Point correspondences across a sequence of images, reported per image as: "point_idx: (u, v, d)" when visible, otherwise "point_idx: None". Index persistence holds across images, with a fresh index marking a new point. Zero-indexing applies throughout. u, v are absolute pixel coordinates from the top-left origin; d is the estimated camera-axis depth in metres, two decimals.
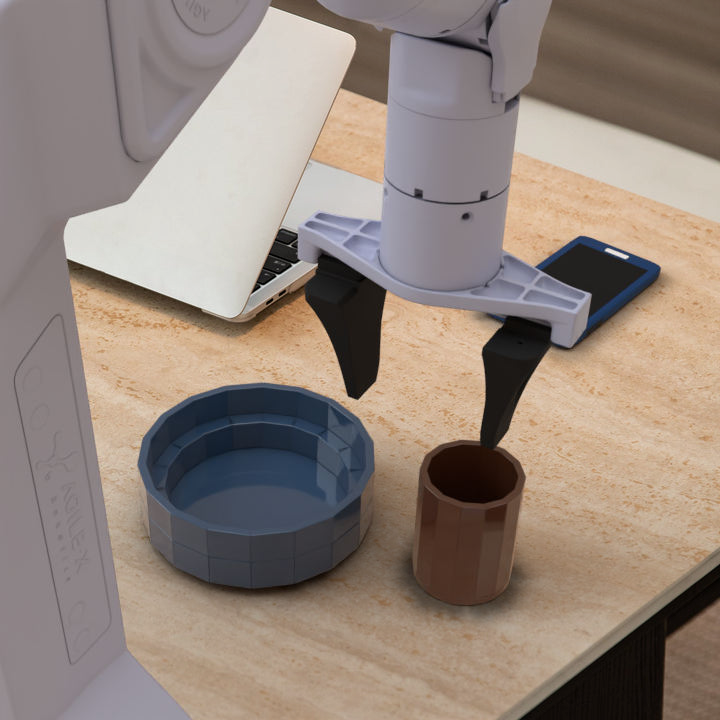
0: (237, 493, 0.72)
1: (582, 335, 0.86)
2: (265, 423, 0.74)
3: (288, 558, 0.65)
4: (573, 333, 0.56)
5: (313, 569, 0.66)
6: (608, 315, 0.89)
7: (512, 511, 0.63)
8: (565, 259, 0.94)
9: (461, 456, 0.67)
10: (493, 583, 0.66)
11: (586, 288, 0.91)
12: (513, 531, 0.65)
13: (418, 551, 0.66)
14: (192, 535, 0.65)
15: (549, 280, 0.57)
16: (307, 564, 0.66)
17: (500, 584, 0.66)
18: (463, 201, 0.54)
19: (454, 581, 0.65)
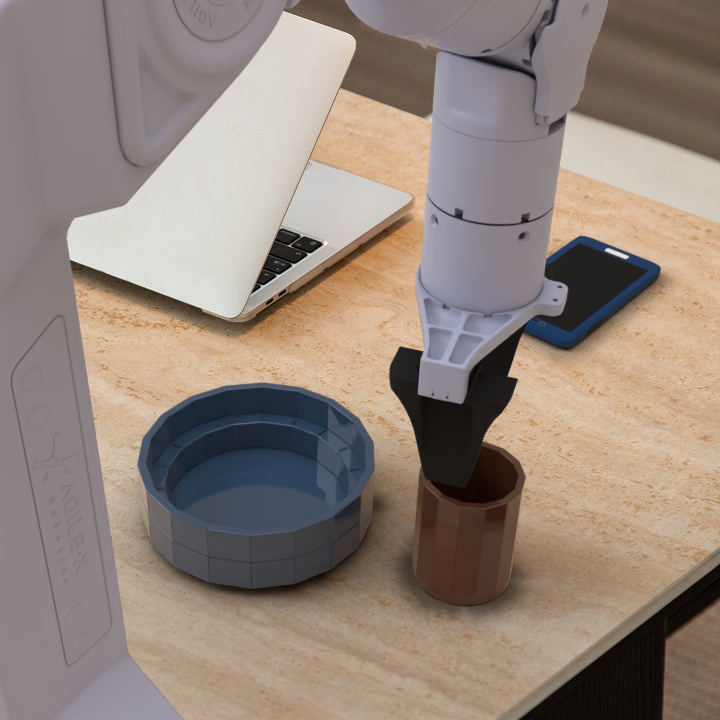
0: (237, 493, 0.72)
1: (582, 335, 0.86)
2: (265, 423, 0.74)
3: (288, 558, 0.65)
4: (420, 380, 0.53)
5: (313, 569, 0.66)
6: (608, 315, 0.89)
7: (512, 511, 0.63)
8: (565, 259, 0.94)
9: None
10: (493, 583, 0.66)
11: (586, 288, 0.91)
12: (513, 531, 0.65)
13: (418, 551, 0.66)
14: (192, 535, 0.65)
15: None
16: (307, 564, 0.66)
17: (500, 584, 0.66)
18: (433, 201, 0.54)
19: (454, 581, 0.65)
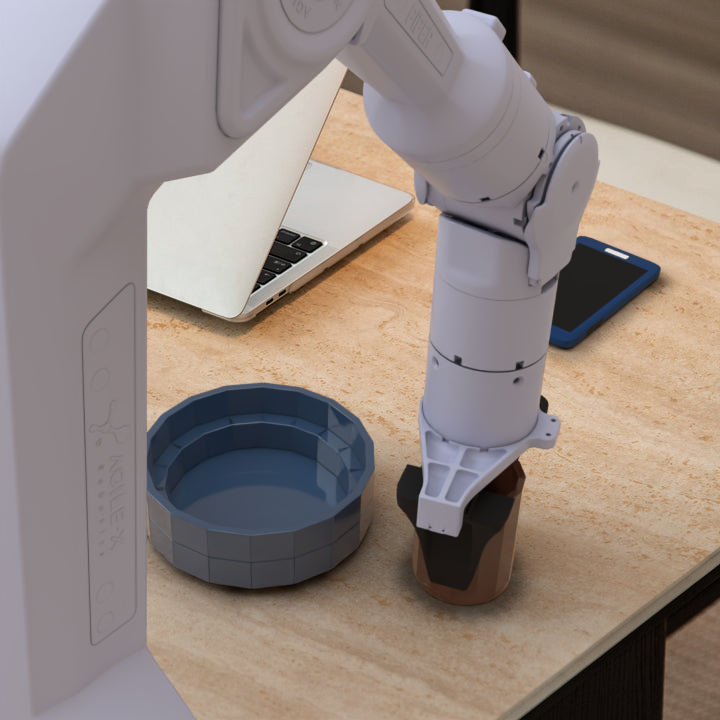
0: (237, 493, 0.72)
1: (582, 335, 0.86)
2: (265, 423, 0.74)
3: (288, 558, 0.65)
4: (418, 514, 0.57)
5: (313, 569, 0.66)
6: (608, 315, 0.89)
7: (512, 511, 0.63)
8: None
9: None
10: (493, 583, 0.66)
11: (586, 288, 0.91)
12: (513, 531, 0.65)
13: (418, 551, 0.66)
14: (192, 535, 0.65)
15: None
16: (307, 564, 0.66)
17: (500, 584, 0.66)
18: (434, 346, 0.58)
19: None
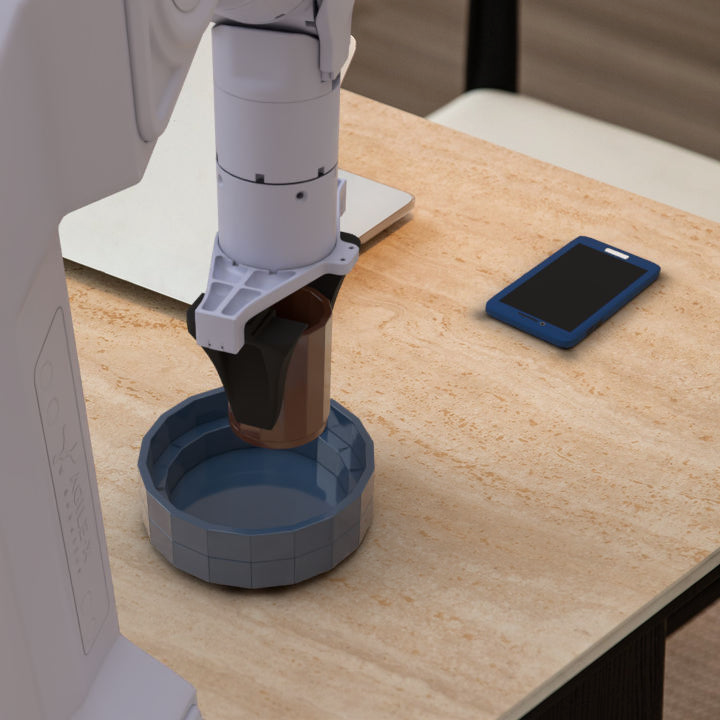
0: (237, 493, 0.72)
1: (582, 335, 0.86)
2: None
3: (288, 558, 0.65)
4: (197, 331, 0.56)
5: (313, 569, 0.66)
6: (608, 315, 0.89)
7: (315, 346, 0.62)
8: (565, 259, 0.94)
9: None
10: (304, 426, 0.64)
11: (586, 288, 0.91)
12: (320, 369, 0.63)
13: None
14: (192, 535, 0.65)
15: None
16: (307, 564, 0.66)
17: (312, 427, 0.65)
18: (218, 162, 0.57)
19: None
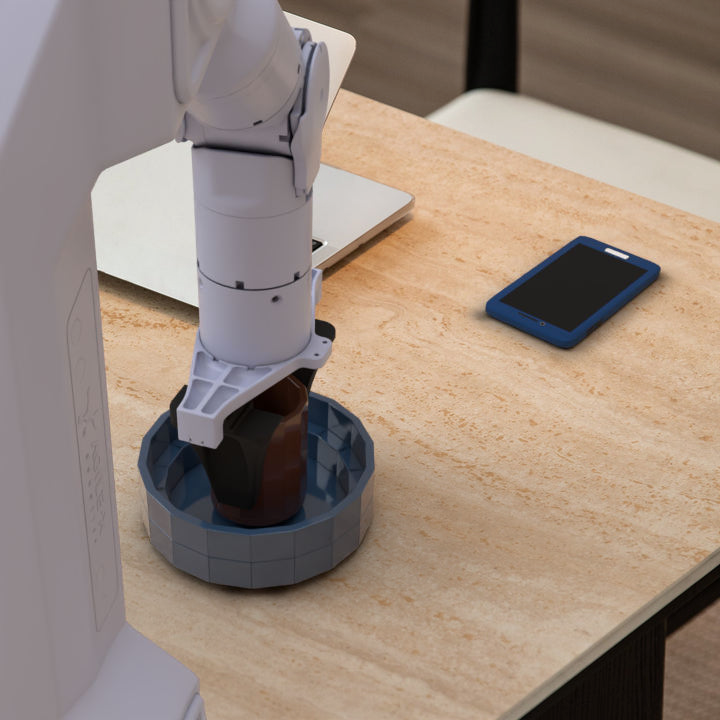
0: None
1: (582, 335, 0.86)
2: None
3: (288, 558, 0.65)
4: (178, 427, 0.59)
5: (313, 569, 0.66)
6: (608, 315, 0.89)
7: (292, 432, 0.66)
8: (565, 259, 0.94)
9: None
10: (281, 504, 0.68)
11: (586, 288, 0.91)
12: (297, 452, 0.67)
13: None
14: (192, 535, 0.65)
15: None
16: (307, 564, 0.66)
17: (289, 505, 0.69)
18: (198, 266, 0.61)
19: None
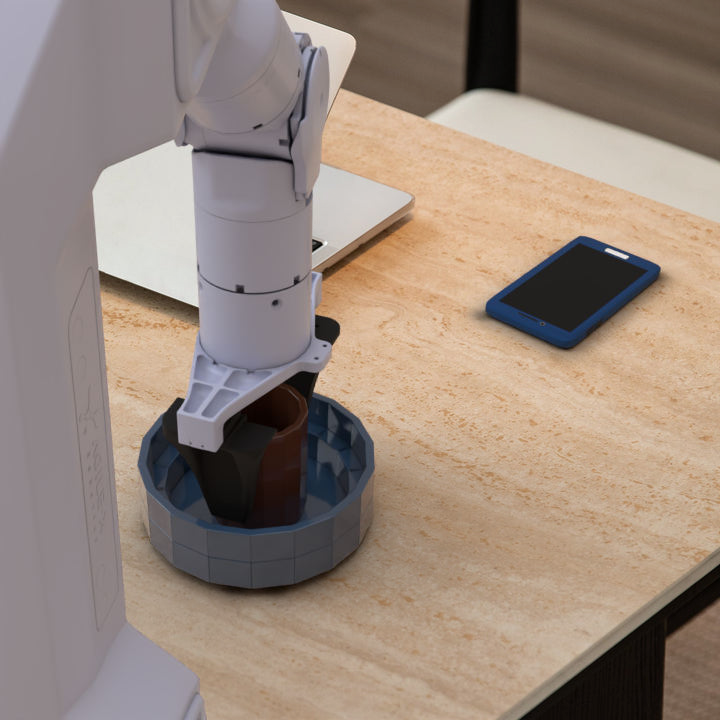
0: None
1: (582, 335, 0.86)
2: None
3: (288, 558, 0.65)
4: (178, 430, 0.60)
5: (313, 569, 0.66)
6: (608, 315, 0.89)
7: (292, 444, 0.66)
8: (565, 259, 0.94)
9: None
10: (281, 515, 0.69)
11: (586, 288, 0.91)
12: (297, 464, 0.67)
13: None
14: (192, 535, 0.65)
15: None
16: (307, 564, 0.66)
17: (289, 516, 0.69)
18: (198, 270, 0.61)
19: None
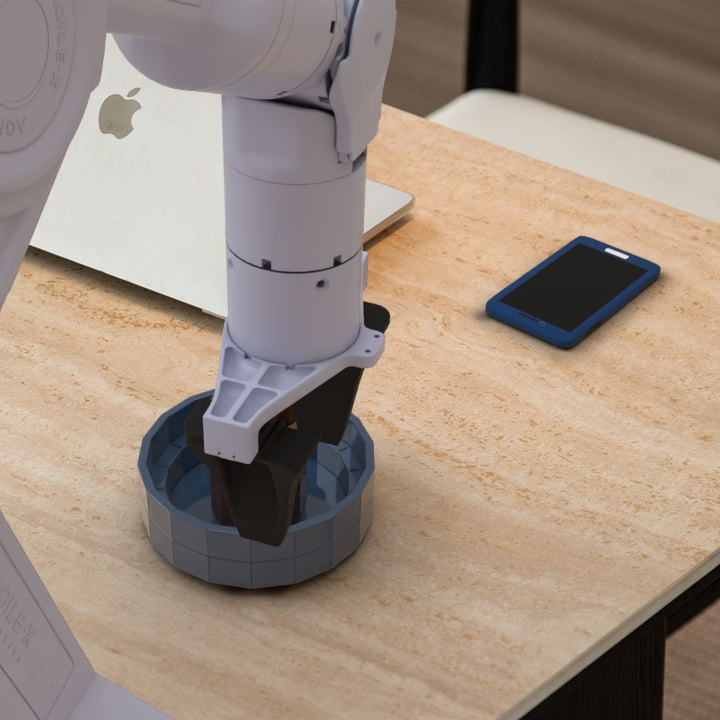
0: None
1: (582, 335, 0.86)
2: None
3: (288, 558, 0.65)
4: (205, 438, 0.49)
5: (313, 569, 0.66)
6: (608, 315, 0.89)
7: None
8: (565, 259, 0.94)
9: None
10: None
11: (586, 288, 0.91)
12: None
13: (210, 485, 0.69)
14: (192, 535, 0.65)
15: None
16: (307, 564, 0.66)
17: None
18: (228, 245, 0.51)
19: None
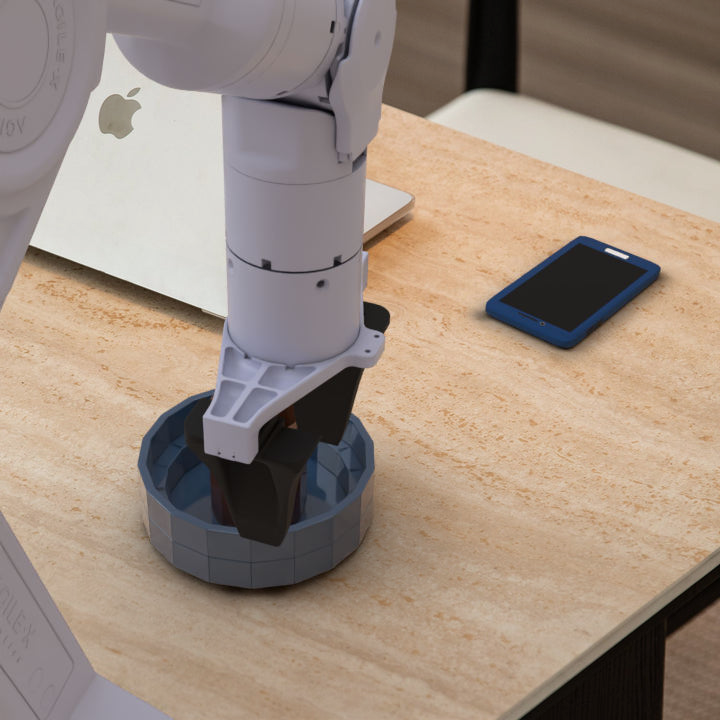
0: None
1: (582, 335, 0.86)
2: None
3: (288, 558, 0.65)
4: (205, 438, 0.49)
5: (313, 569, 0.66)
6: (608, 315, 0.89)
7: None
8: (565, 259, 0.94)
9: None
10: None
11: (586, 288, 0.91)
12: None
13: (210, 485, 0.69)
14: (192, 535, 0.65)
15: None
16: (307, 564, 0.66)
17: None
18: (228, 245, 0.51)
19: None
